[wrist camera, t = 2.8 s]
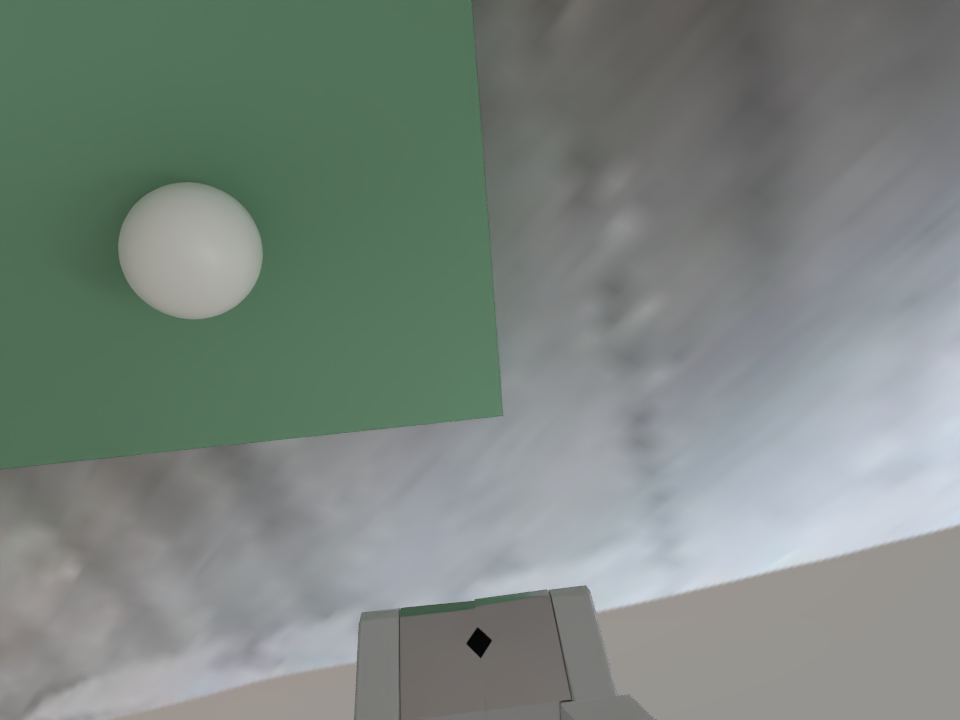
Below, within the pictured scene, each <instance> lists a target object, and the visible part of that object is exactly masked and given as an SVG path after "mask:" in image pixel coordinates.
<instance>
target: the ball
mask: <svg viewBox="0 0 960 720" xmlns="http://www.w3.org/2000/svg"><path fill="white" fill-rule="evenodd" d="M118 254H119V261H120V265H121V268H122V271H123V273H124V276H125V278H126V280H127V282H128V283H129V285H130V287H131V288H132V289H133V290H134V292H135V293H136V294H137V295H138V296H139V297H140V298H141V299H142V300H143V301H145V302H146V303H147V304H148V305H150V306H151V307H153V308H155V309H156V310H158V311H160V312H162V313H165V314H167V315H170V316H174V317H177V318H183V319H204V318H210V317H214V316H217V315H220V314H223V313H225V312H227V311H229V310H230V309H232V308H234V307H235V306H237V305H238V304H239V303H240V302H242V301H243V299H244V298H245V297H246V296H247V295H248V294H249V293H250V292H251V290H252V289H253V287H254V285H255V283H256V281H257V279H258V277H259V274H260V270H261V266H262V259H263V249H262V242H261V237H260V234H259V231H258V228H257V226H256V224H255V222H254V220H253V219H252V217H251V215H250V214H249V212H248V211H247V210H246V209H245V208H244V207H243V206H242V205H241V204H240V203H239V202H238V201H237V200H236V199H234V198H233V197H232V196H230V195H229V194H227V193H225V192H224V191H222V190H220V189H217V188H215V187H212V186H209V185H206V184H201V183H193V182H181V183H174V184H169V185H165V186H162V187H160V188H157V189H155V190H153V191H151V192H149V193H148V194H146V195H145V196H143V197H142V198H141V199H140V200H139V201H138V202H137V203H136V204H135V205H134V206H133V207H132V209H131V210H130V211H129V213H128V215H127V216H126V218H125V220H124V222H123V224H122V227H121V230H120V235H119V241H118Z"/></svg>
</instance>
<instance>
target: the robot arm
mask: <svg viewBox="0 0 960 720" xmlns="http://www.w3.org/2000/svg"><path fill="white" fill-rule="evenodd" d="M354 720H656V719H655V718H654V717H653V716H652V715H651V714H650V713H649V712H648V711H646V710H645V709H644V708H643V707H642V706H641V705H640V704H639V703H638V702H637V701H636V700H635V699H634V698H633V697H631V695H618V694H617V690H616V687H615V683H614V679H613V675H612V672H611V668H610V664H609V660H608V656H607V653H606V649H605V645H604V641H603V638H602V634H601V630H600V626H599V623H598V619H597V615H596V611H595V607H594V604H593V600H592V596H591V592H590V591H589V589H588V588H587V586H586V585H585V586H577V587H569V588H561V589H553V590H549V592H548V590H547V589H546V590H539V591H532V592H525V593H517V594H510V595H503V596H496V597H488V598H481V599H475V601H468V602H458V603H447V604H437V605H427V606H417V607H406V608H401V609H400V608H398V609H389V610H380V611H371V612H362V614H361V618H360V622H359V630H358V651H357V673H356V693H355V714H354Z"/></svg>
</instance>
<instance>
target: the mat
mask: <svg viewBox="0 0 960 720" xmlns="http://www.w3.org/2000/svg"><path fill="white" fill-rule="evenodd" d="M181 182H193V183H201V184H206V185H209V186H212V187H215V188H217V189H220V190H222V191H224V192H225V193H227V194H229V195H230V196H232V197H233V198H234V199H236V200H237V201H238V202H239V203H240V204H241V205H242V206H243V207H244V208H245V209H246V210H247V211H248V212H249V214H250V215H251V217H252V219H253V220H254V222H255V224H256V226H257V228H258V231H259V234H260V237H261V242H262V249H263V259H262V266H261V270H260V274H259V277H258V279H257V281H256V283H255V285H254V287H253V289H252V290H251V292H250V293H249V294H248V295H247V296H246V297H245V298H244V299H243V301H242V302H240V303H239V304H238V305H237V306H235V307H234V308H232V309H230V310H229V311H227V312H225V313H223V314H220V315H217V316H214V317H210V318H204V319H183V318H177V317H174V316H170V315H167V314H165V313H162V312H160V311H158V310H156V309H155V308H153V307H151V306H150V305H148V304H147V303H146V302H145V301H143V300H142V299H141V298H140V297H139V296H138V295H137V294H136V293H135V292H134V290H133V289H132V288H131V287H130V285H129V283H128V282H127V280H126V278H125V276H124V273H123V271H122V268H121V265H120V261H119V254H118V241H119V235H120V230H121V227H122V224H123V222H124V220H125V218H126V216H127V215H128V213H129V211H130V210H131V209H132V207H133V206H134V205H135V204H136V203H137V202H138V201H139V200H140V199H141V198H142V197H143V196H145V195H146V194H148V193H149V192H151V191H153V190H155V189H157V188H160V187H162V186H165V185H169V184H174V183H181ZM497 416H503V409H502V396H501V382H500V369H499V356H498V343H497V329H496V316H495V303H494V290H493V276H492V263H491V250H490V237H489V223H488V210H487V197H486V184H485V170H484V157H483V144H482V131H481V117H480V104H479V91H478V78H477V64H476V51H475V38H474V24H473V11H472V0H0V469H7V468H17V467H26V466H36V465H45V464H55V463H64V462H73V461H83V460H92V459H102V458H111V457H121V456H130V455H139V454H149V453H158V452H168V451H177V450H187V449H196V448H205V447H215V446H224V445H234V444H243V443H252V442H262V441H271V440H281V439H290V438H300V437H309V436H318V435H328V434H337V433H347V432H356V431H366V430H375V429H384V428H394V427H403V426H413V425H422V424H432V423H441V422H450V421H460V420H469V419H479V418H488V417H497Z"/></svg>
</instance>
